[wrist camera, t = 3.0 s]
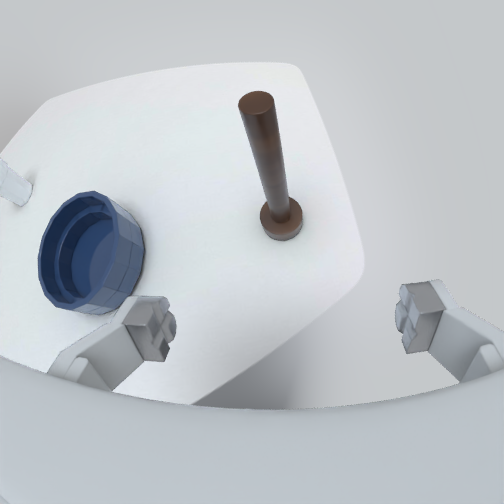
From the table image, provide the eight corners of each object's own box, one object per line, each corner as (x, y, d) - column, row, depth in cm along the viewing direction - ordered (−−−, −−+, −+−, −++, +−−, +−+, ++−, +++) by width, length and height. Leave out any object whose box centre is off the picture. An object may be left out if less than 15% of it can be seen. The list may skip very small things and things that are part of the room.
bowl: (166, 262, 32) (140, 248, 27) (92, 336, 31) (60, 334, 26) (116, 191, 37) (92, 171, 31) (56, 258, 36) (28, 247, 30)
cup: (15, 197, 43) (-20, 176, 33) (32, 174, 44) (-3, 149, 33) (18, 216, 41) (-20, 194, 31) (37, 191, 41) (-2, 166, 31)
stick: (310, 221, 31) (312, 99, 13) (281, 248, 30) (252, 145, 13) (283, 196, 32) (258, 69, 15) (254, 221, 32) (202, 107, 15)
